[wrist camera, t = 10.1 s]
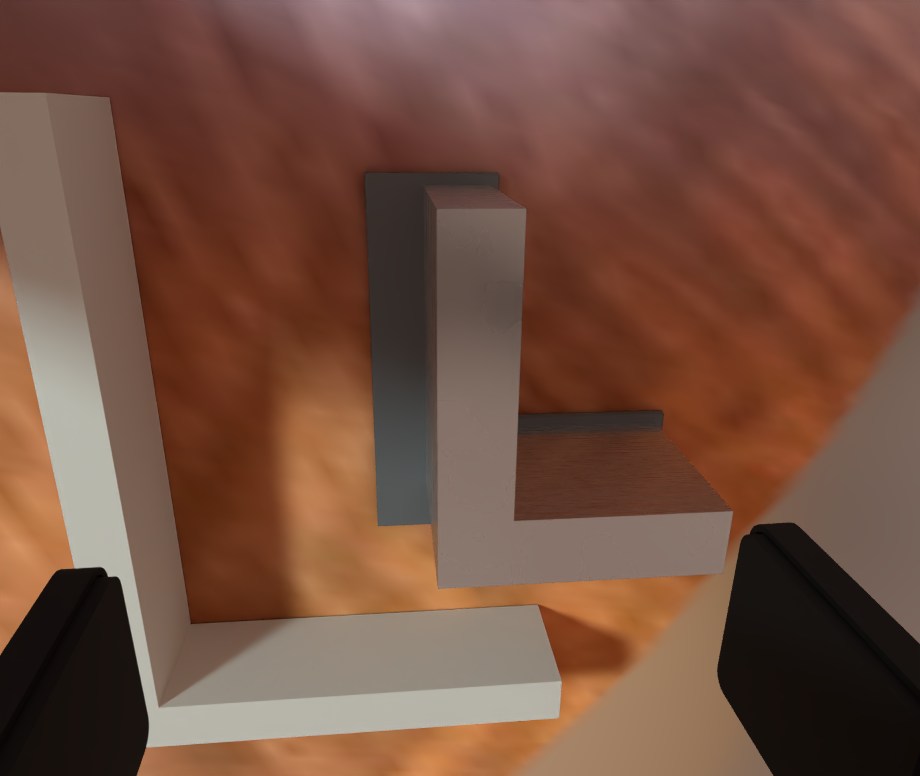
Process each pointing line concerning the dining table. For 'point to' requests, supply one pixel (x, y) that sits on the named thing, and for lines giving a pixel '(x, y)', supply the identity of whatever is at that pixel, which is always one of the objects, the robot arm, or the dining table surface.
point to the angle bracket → (535, 436)
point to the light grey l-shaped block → (150, 505)
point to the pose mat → (417, 343)
